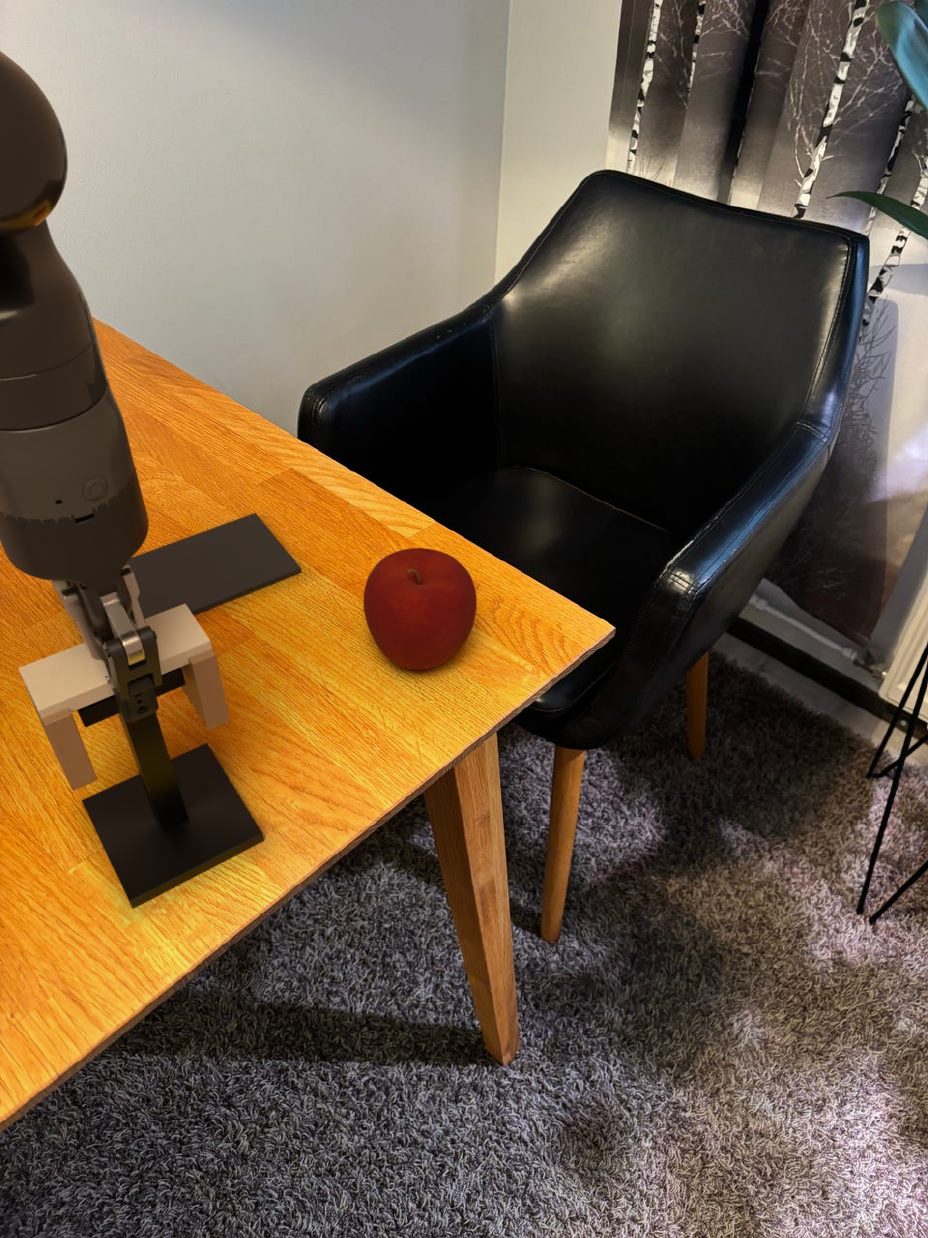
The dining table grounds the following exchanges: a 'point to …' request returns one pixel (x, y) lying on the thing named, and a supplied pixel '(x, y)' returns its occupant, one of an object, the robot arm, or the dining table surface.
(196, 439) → the dining table surface
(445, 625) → the apple
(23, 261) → the robot arm
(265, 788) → the dining table surface
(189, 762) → the stand
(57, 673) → the beige wooden bench
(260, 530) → the mat
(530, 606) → the dining table surface
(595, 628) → the dining table surface
